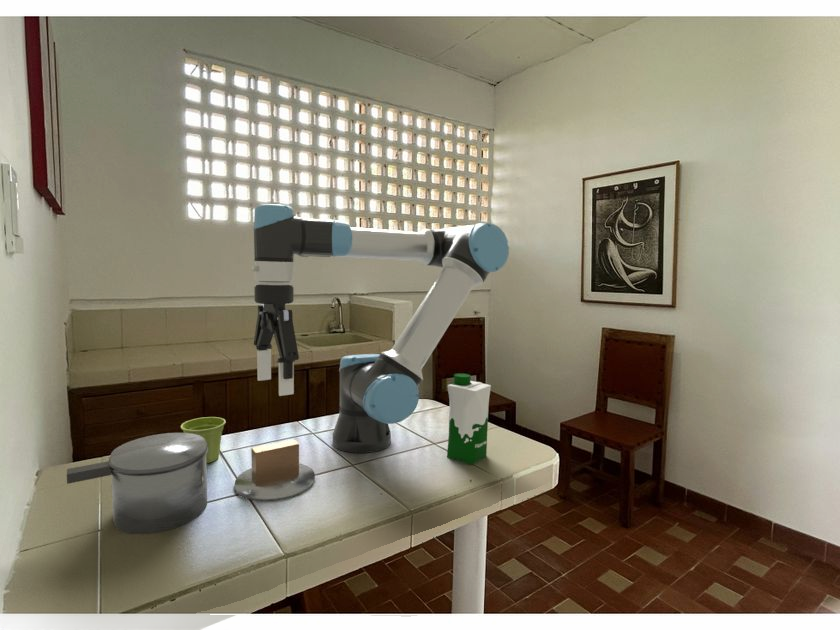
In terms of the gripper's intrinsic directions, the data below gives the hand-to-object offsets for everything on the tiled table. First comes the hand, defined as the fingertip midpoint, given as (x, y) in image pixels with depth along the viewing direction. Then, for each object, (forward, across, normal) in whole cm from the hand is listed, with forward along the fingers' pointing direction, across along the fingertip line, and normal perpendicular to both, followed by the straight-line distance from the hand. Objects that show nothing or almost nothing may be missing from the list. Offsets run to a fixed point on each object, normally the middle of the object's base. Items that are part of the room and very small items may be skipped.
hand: (274, 386), depth 95 cm
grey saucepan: (+21, 0, -24) cm, 31 cm away
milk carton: (+21, +12, +43) cm, 49 cm away
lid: (+21, 0, 0) cm, 21 cm away
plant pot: (+21, -20, -10) cm, 30 cm away
